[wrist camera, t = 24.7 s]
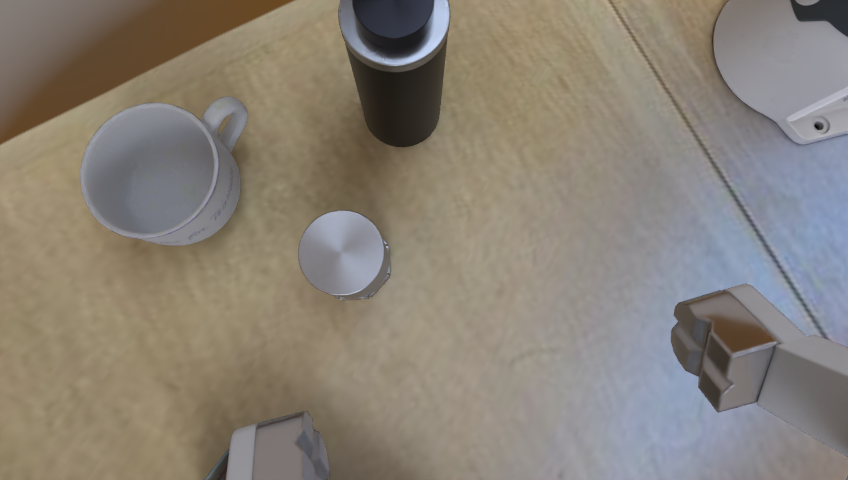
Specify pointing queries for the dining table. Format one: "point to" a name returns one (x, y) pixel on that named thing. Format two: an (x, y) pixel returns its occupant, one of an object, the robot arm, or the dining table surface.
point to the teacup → (164, 171)
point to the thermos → (397, 64)
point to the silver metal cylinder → (344, 255)
